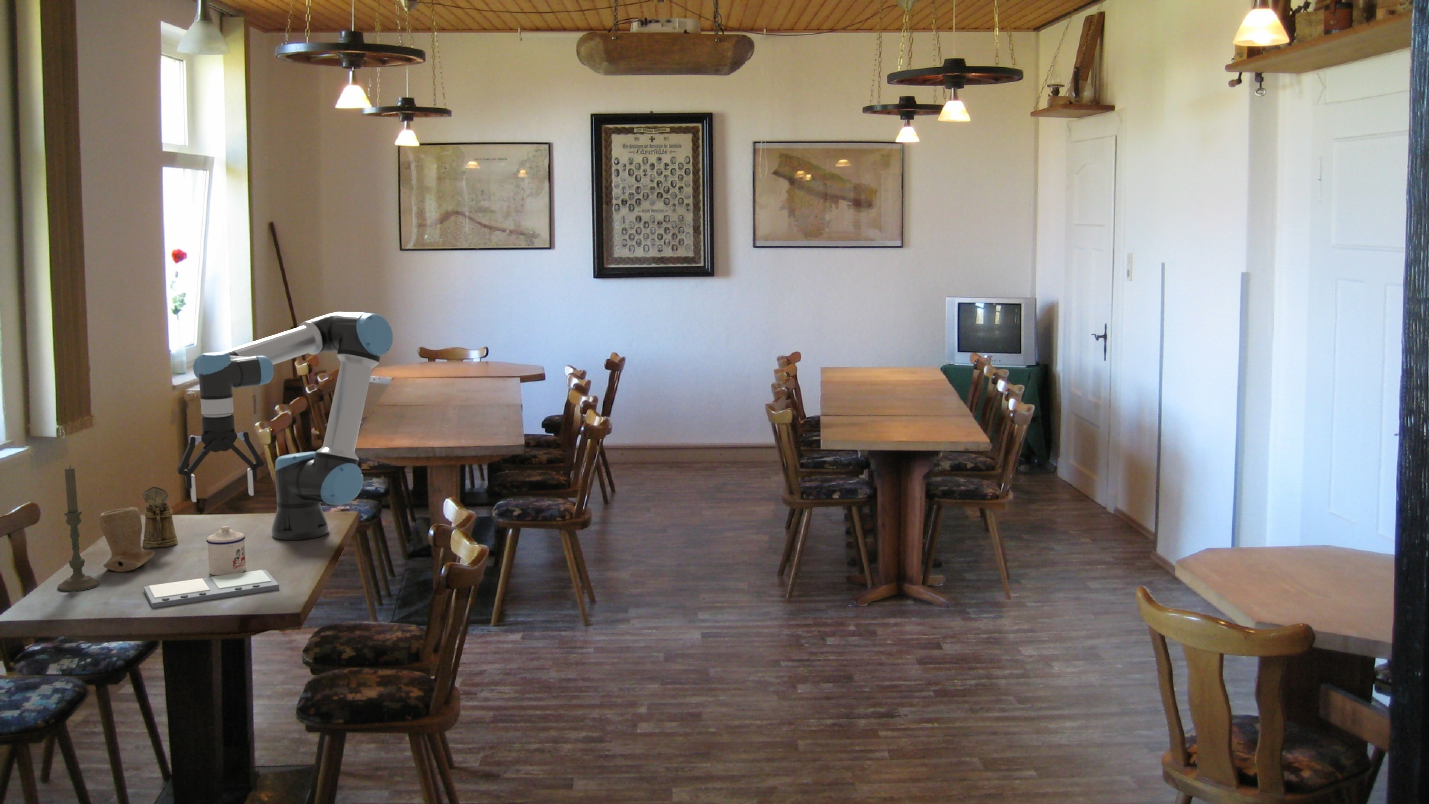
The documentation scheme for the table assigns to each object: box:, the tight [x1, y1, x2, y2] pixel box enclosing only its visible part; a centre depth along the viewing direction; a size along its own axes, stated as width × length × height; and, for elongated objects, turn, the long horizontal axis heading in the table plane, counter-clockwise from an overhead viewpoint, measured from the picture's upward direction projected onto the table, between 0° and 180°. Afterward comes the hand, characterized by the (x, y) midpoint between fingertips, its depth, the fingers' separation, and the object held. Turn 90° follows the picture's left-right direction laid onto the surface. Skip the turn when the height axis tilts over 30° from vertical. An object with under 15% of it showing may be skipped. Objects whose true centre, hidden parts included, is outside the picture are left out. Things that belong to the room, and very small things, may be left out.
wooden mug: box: [142, 486, 178, 549], centre depth 335 cm, size 9×14×18 cm, turn 20°
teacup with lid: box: [206, 525, 247, 576], centre depth 312 cm, size 12×9×12 cm
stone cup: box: [98, 506, 155, 573], centre depth 316 cm, size 15×12×15 cm
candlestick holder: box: [57, 464, 100, 592], centre depth 297 cm, size 9×9×30 cm
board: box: [143, 569, 280, 609], centre depth 296 cm, size 28×15×1 cm, turn 121°
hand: (222, 497), depth 310 cm, fingers open, 13 cm apart
